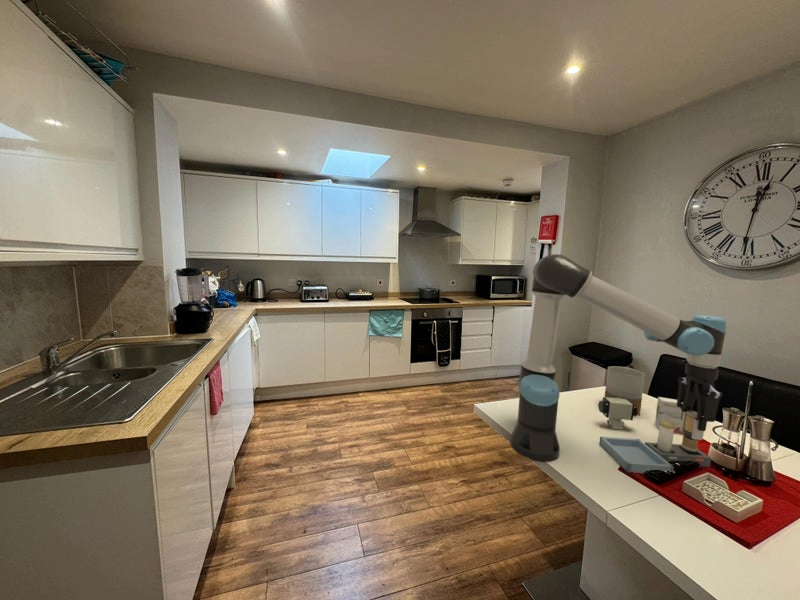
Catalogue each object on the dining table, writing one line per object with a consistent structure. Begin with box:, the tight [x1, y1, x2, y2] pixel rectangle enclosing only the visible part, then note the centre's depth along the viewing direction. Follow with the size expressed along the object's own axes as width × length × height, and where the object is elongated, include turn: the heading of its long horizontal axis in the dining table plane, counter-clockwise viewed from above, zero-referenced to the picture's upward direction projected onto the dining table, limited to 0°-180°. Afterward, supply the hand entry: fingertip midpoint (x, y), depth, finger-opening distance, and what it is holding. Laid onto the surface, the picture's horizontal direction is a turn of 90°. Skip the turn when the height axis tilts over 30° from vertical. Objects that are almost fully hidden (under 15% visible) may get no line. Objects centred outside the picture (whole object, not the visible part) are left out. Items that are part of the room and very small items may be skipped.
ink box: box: [654, 396, 683, 435], centre depth 121 cm, size 9×5×12 cm, turn 65°
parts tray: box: [598, 436, 675, 474], centre depth 101 cm, size 13×15×3 cm
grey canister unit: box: [604, 365, 646, 416], centre depth 136 cm, size 13×13×18 cm
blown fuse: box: [680, 410, 703, 452], centre depth 101 cm, size 4×4×12 cm
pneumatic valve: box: [597, 396, 638, 431], centre depth 121 cm, size 6×12×12 cm, turn 78°
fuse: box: [656, 420, 675, 453], centre depth 102 cm, size 4×4×12 cm
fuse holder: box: [644, 441, 712, 468], centre depth 102 cm, size 15×7×3 cm, turn 86°
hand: (691, 434), depth 101 cm, fingers closed on blown fuse, 4 cm apart
